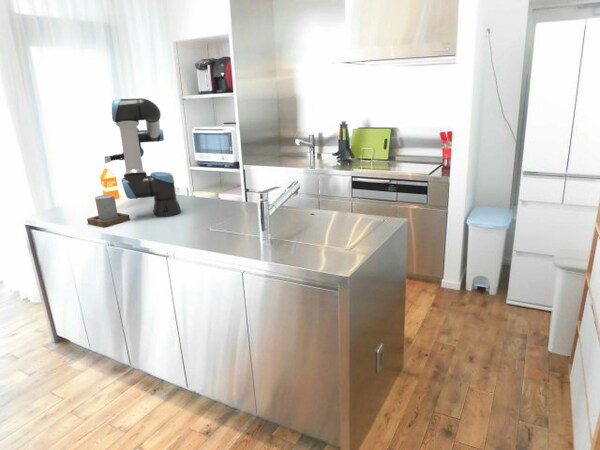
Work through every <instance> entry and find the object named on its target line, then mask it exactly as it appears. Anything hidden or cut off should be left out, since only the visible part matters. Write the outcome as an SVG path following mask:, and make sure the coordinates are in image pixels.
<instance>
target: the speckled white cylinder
mask: <svg viewBox="0 0 600 450" xmlns="http://www.w3.org/2000/svg"><path fill="white" fill-rule="evenodd" d="M94 199H95V200H94V201H95V205H96V210H97V216H99V220H102V221H107V220H110V219H113V218H117V217H118V214H117V213H118V209H117V203H116V199H115V197H114V195H103V194H102V195H98V196H95V197H94Z"/></svg>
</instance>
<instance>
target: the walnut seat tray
mask: <svg viewBox="0 0 600 450" xmlns="http://www.w3.org/2000/svg"><path fill="white" fill-rule="evenodd" d="M117 214H118V217H117V218H113V219H110V220H107V221H102V220H99V216H98V215H95V216H92V217H89V218H86V219H87V225H91V226H96V227H100V228H103V229H106V228H109V227H111V226H114V225H115V226H116V225H119V224H122V223H125V222H128V221H130V220H131V217H130V214H127V213H121V212H117Z"/></svg>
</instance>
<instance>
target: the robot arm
mask: <svg viewBox="0 0 600 450" xmlns="http://www.w3.org/2000/svg"><path fill="white" fill-rule="evenodd" d="M111 116H112V117H111V118H112V121H113V122H114V123H115V125H116V126H117V127H118V128H119V130H120V138H121V144H122V151H123V152H122V153H118V154H112V155H107V156H104V162H105V164H107V163H111V162H112V161H118V160H119V161H124V166H125V172H124V173H123V177H122V178H121V179H120V180H121V184H122V187H123V192H124V193H125V196H126V198H127V199H128V200H134V199H136V200H137V199H143V198H144V199H145V198H151V197H153V198H154V203H153V204H154V205H153V210H152V214H153V216H154V217H157V218H158V217H160V218H161V217H162V218H163V217H166V218H167V217H172V216H176V215H179V214H181V213H182V208H181V206H180V203H179V201H178V200H177V196H176V187H175V180H174V175H173V174H172V173H170V172H166V171H153V172H151V173H150V175H147V172H146V171H145V170H144V168H143V161H142V157H143V156H144V154H145V151H144V149H143V147H142V143H155V142H163V141H164V140H165V137H164V130H163V129H161V127H160V120H161V110H160V107H158V105H157V104H155V103H154V102H153V101H152V100H149V99H146V98H143V97H141V98H140V97H139V98H120V99H119V98H118V99H114V100H113V101H112V102H111ZM140 121H145V126H146V129H143V130H142V129H140V130H139V128H138V126H139V124H140Z"/></svg>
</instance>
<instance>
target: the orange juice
mask: <svg viewBox="0 0 600 450" xmlns="http://www.w3.org/2000/svg"><path fill="white" fill-rule="evenodd" d="M99 178H100V183H101V189H102V195H114V197H115V200H117V199H118V200H119V199H120V192H119V187H118V186H119V185H118V181H117V176H116V175H114V174H113V173H112V172H111V171H110V170H109V169H108V168H105V167H104V169H103V171H102V172H101V175H100V176H99Z"/></svg>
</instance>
